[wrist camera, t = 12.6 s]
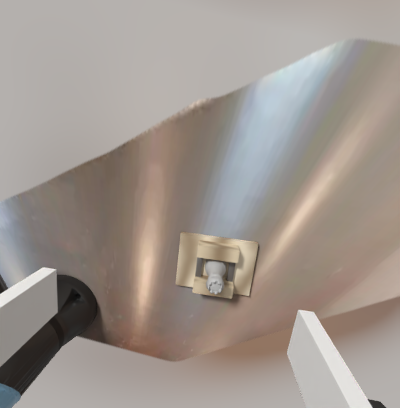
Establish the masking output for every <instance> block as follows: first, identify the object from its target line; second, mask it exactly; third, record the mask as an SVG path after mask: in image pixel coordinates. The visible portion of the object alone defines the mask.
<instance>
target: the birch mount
mask: <svg viewBox="0 0 400 408" xmlns="http://www.w3.org/2000/svg"><path fill="white" fill-rule="evenodd" d="M258 245H259V244H258V242H252V241H245V240H237V239H230V238H223V237H216V236H208V235H201V234H194V233H186V232H181V236H180V246H179V256H178V266H177V276H176V285H180V286H187V287H193V293H197V294H204V295H210V296H217V297H223V298H230V299H232V295H233V294H239V295H246V296H249V293H250V288H251V282H252V277H253V272H254V266H255V261H256V256H257V250H258ZM208 259H212V260H219V261H224V262H225V263H226V272H225V274H224V275H223V276H222V278H223V282H224V289H223V290H222V291H221V293H217V295H215V293H212V294H211V293H210V291H209V290H208V289H207V288H206V282H207V280H208V277H209V276H208V275H207V273H206V271H205V263H206V261H207V260H208Z"/></svg>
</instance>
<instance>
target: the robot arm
mask: <svg viewBox="0 0 400 408" xmlns="http://www.w3.org/2000/svg"><path fill="white" fill-rule="evenodd" d="M96 311H97V306H96V301H95V298H94V296H93V294H92V292H91V291H90V289H89V288H88V287H87V286H86V285H85V284H84V283H82V282H81V281H79V280H78V279H76V278H73V277H70V276H66V275H57V274H56V269H50V268H44V267H43V268H41V269H40V270H38V271H36V272H35V273H33V274H32V275H30V276H28V277H27V278H25V279H24V280H22V281H20V282H19V283H17V284H15V285H14V286H12V287H11V288H9V289H8V287H7V286H6V284H5V282H4V280H3V278H2V277H1V275H0V408H12V407H13V405H14V404H15V403H17V402H18V401H19V400H20V398H21V396H22V394H23V393H24V392H25V391H26V390H27V389H28V387H29V386H30V385H31V383H32V382H33V381H34V380H35V379H36V378H37V376H38V375H39V374H40V373H41V371H42V370H43V369H44V368H45V367H46V365H47V364H48V363H49V362H50V360H51V359H52V358H53V357H54V356H55V354H56V353H57V352H58V351H59V350H60V348H61V347H62V346H63V345H65V344H66V343H67V342H69V341H70V340H72V339H73V338H74V337H76V336H78V335H79V334H81V333H82V332H84V331H85V330H86V329H87V328H88V326H89V325H90V324H91V323H92V321H93V320H94V318H95V315H96ZM287 355H288V358H289V361H290V363H291V366H292V369H293V372H294V375H295V378H296V380H297V383H298V386H299V389H300V392H301V395H302V398H303V400H304V403H305V406H306V408H386V407H385V406H384V405H383V404H382V403H381V402H379V401H374V400H369V399H367V398H366V396H365V395H364V393H363V391H362V390H361V388H360V386H359V385H358V383H357V382H356V380H355V378H354V377H353V375H352V373H351V372H350V370H349V369H348V367H347V365H346V364H345V362H344V361H343V359H342V357H341V356H340V354H339V352H338V351H337V349H336V348H335V346H334V344H333V343H332V341H331V340H330V338H329V336H328V335H327V333H326V331H325V330H324V328H323V327H322V325H321V323H320V322H319V320H318V318H317V317H316V315H315V314H314V312H310V311H304V310H298V313H297V317H296V321H295V324H294V328H293V332H292V336H291V340H290V343H289V347H288V351H287Z"/></svg>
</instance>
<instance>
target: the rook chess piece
mask: <svg viewBox="0 0 400 408" xmlns="http://www.w3.org/2000/svg"><path fill="white" fill-rule="evenodd" d="M205 271H206V273H207V275H208V276H209V277H208V280H207V282H206V288H207V289H208V290H209V291H210V293H211V294H212V293H215V295H217V293H221V291H222V290H223V289H224V282H223V278H222V276H223V275H224V274H225V272H226V263H225V262H224V261H219V260H212V259H208V260H207V261H206V263H205Z"/></svg>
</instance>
